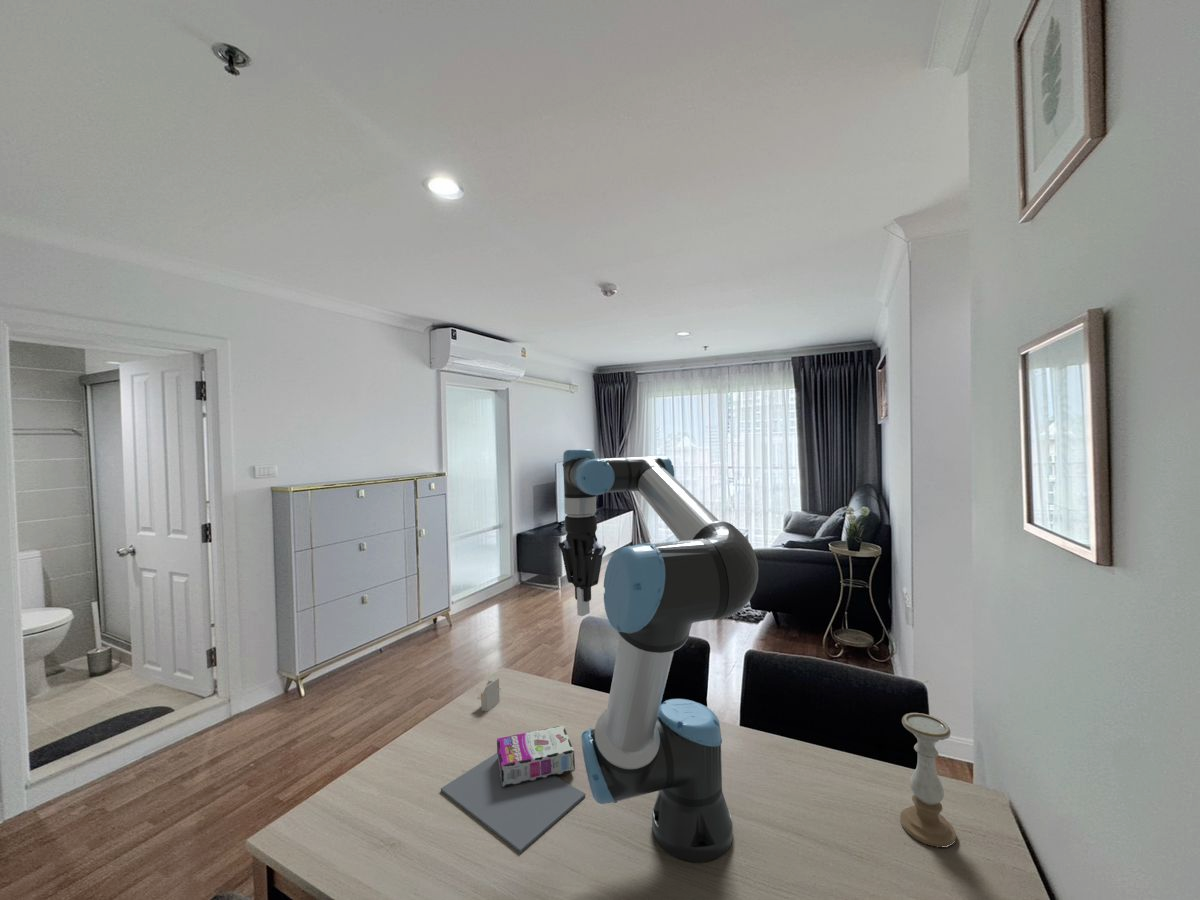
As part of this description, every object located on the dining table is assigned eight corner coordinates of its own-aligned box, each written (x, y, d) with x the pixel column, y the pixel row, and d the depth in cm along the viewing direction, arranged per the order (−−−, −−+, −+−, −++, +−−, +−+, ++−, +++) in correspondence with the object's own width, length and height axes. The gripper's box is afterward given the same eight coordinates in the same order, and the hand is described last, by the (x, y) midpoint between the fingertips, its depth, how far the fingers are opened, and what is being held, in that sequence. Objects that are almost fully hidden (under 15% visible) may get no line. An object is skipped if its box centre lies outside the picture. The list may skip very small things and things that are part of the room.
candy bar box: (501, 789, 105) (575, 772, 110) (500, 766, 105) (574, 750, 110) (497, 758, 116) (565, 743, 120) (496, 737, 116) (564, 723, 120)
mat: (585, 796, 103) (585, 793, 103) (520, 853, 89) (520, 849, 89) (505, 749, 120) (505, 746, 120) (440, 791, 106) (440, 788, 106)
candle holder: (889, 819, 95) (887, 716, 94) (921, 806, 98) (919, 706, 97) (934, 855, 86) (932, 742, 86) (967, 839, 90) (965, 730, 89)
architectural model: (477, 710, 138) (476, 684, 138) (493, 698, 145) (492, 673, 144) (486, 713, 137) (485, 687, 137) (502, 701, 143) (501, 676, 143)
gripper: (612, 514, 114) (615, 614, 114) (570, 510, 122) (573, 604, 122) (592, 518, 108) (595, 624, 109) (549, 514, 116) (552, 613, 117)
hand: (583, 613), depth 116 cm, fingers closed
